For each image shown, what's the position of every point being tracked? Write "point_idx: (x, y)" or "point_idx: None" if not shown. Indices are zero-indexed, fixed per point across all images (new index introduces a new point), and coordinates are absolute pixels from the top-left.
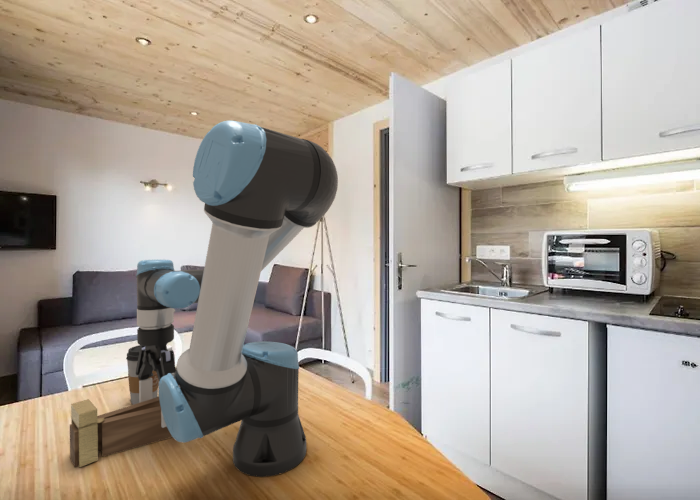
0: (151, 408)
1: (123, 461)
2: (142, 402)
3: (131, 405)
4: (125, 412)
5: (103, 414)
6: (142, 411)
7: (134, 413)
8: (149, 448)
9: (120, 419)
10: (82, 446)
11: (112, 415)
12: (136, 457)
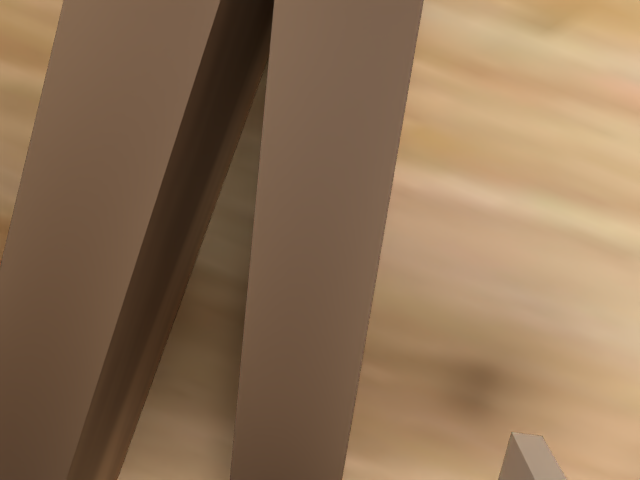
0: (59, 445)
1: (27, 38)
2: (325, 464)
3: (357, 357)
4: (253, 236)
5: (405, 3)
6: (55, 354)
7: (74, 275)
8: None
9: (42, 92)
10: None
11: (271, 80)
12: (11, 119)
